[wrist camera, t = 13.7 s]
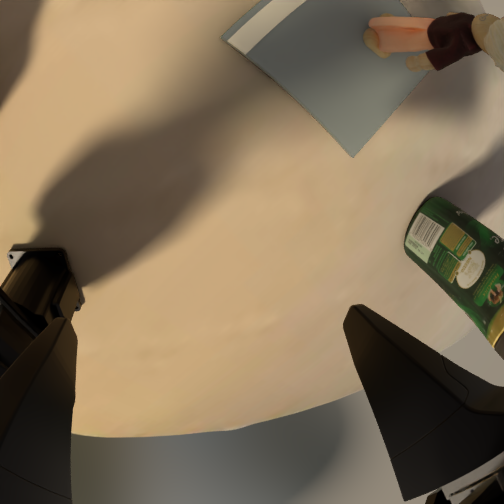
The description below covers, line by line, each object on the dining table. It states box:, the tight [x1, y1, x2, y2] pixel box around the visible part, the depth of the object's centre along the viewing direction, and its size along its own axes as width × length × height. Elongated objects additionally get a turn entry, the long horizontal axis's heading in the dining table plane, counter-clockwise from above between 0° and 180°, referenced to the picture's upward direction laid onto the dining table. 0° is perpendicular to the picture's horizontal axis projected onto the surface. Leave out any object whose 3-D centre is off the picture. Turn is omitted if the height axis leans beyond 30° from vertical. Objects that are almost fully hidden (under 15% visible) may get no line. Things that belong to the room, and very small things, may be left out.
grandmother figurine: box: [363, 12, 504, 72], centre depth 9 cm, size 8×4×13 cm, turn 150°
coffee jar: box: [404, 197, 504, 360], centre depth 19 cm, size 10×8×19 cm
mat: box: [220, 0, 429, 158], centre depth 14 cm, size 13×14×1 cm
